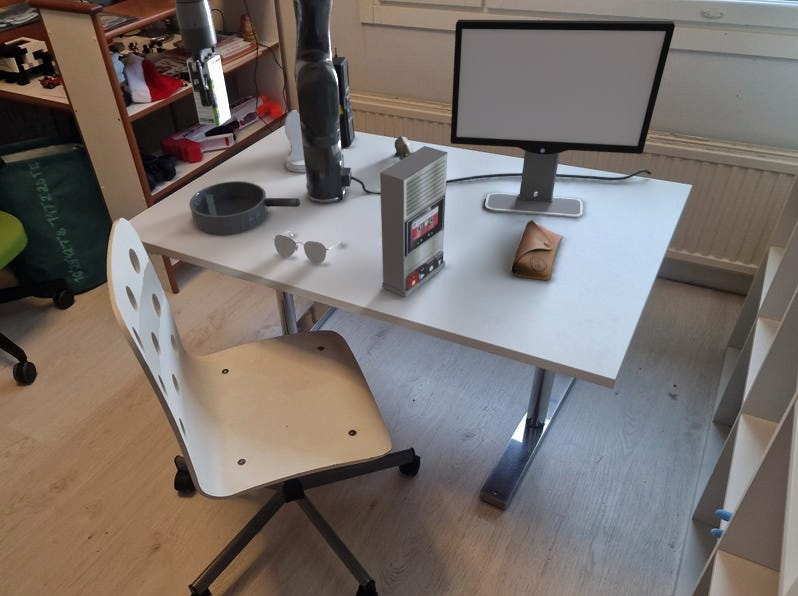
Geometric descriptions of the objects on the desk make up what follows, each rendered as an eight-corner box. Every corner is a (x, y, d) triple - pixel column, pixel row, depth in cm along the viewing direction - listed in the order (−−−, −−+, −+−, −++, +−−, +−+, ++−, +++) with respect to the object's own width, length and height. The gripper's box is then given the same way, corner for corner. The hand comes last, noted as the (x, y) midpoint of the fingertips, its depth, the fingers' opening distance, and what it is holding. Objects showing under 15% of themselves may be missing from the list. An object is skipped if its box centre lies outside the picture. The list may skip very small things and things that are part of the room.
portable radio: (350, 149, 181) (344, 56, 164) (329, 148, 182) (322, 56, 166) (355, 138, 187) (350, 47, 170) (335, 137, 188) (328, 47, 171)
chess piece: (326, 167, 173) (321, 112, 163) (292, 175, 170) (285, 119, 161) (315, 154, 180) (309, 100, 170) (282, 161, 177) (274, 107, 168)
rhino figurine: (404, 176, 166) (404, 154, 162) (392, 155, 176) (392, 133, 172) (419, 174, 167) (419, 152, 163) (406, 153, 177) (406, 131, 173)
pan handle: (302, 204, 152) (301, 196, 151) (300, 208, 151) (299, 200, 149) (265, 204, 153) (264, 196, 152) (263, 208, 152) (262, 200, 150)
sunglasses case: (553, 280, 127) (540, 253, 124) (520, 290, 131) (506, 264, 128) (564, 235, 139) (552, 209, 136) (533, 245, 143) (521, 221, 140)
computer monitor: (446, 207, 153) (454, 24, 126) (451, 191, 159) (460, 13, 132) (626, 221, 143) (676, 27, 116) (625, 203, 149) (672, 14, 122)
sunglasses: (272, 254, 141) (271, 233, 138) (291, 241, 147) (290, 220, 145) (328, 266, 136) (328, 244, 134) (345, 252, 143) (345, 230, 140)
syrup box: (199, 124, 151) (184, 60, 141) (211, 115, 155) (198, 52, 146) (219, 126, 149) (206, 61, 140) (232, 117, 153) (220, 53, 144)
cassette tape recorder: (406, 299, 126) (406, 181, 109) (382, 288, 129) (378, 172, 112) (446, 267, 133) (451, 152, 117) (422, 258, 136) (424, 145, 120)
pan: (275, 198, 161) (272, 181, 158) (258, 236, 148) (255, 217, 144) (206, 198, 163) (202, 181, 160) (184, 235, 150) (179, 216, 147)
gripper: (203, 31, 132) (218, 111, 143) (221, 13, 143) (234, 89, 154) (168, 32, 133) (186, 112, 144) (189, 14, 144) (204, 90, 155)
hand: (211, 100), depth 149 cm, fingers closed on syrup box, 6 cm apart
